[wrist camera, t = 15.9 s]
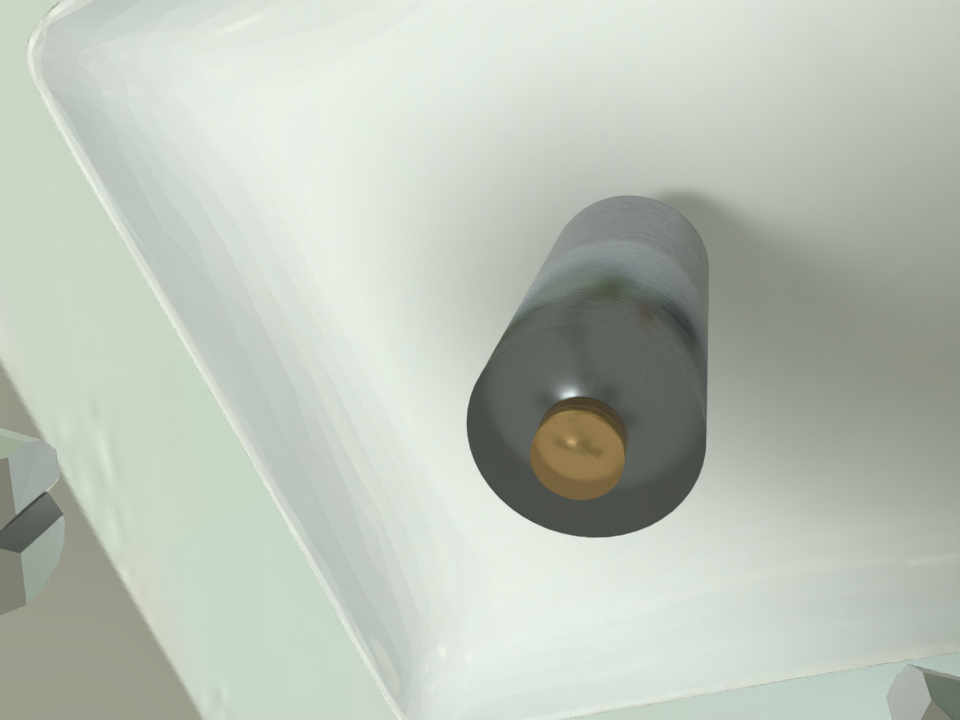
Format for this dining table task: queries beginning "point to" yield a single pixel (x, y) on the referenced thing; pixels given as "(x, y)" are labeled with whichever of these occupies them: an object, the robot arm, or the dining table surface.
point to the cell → (601, 376)
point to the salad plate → (503, 285)
